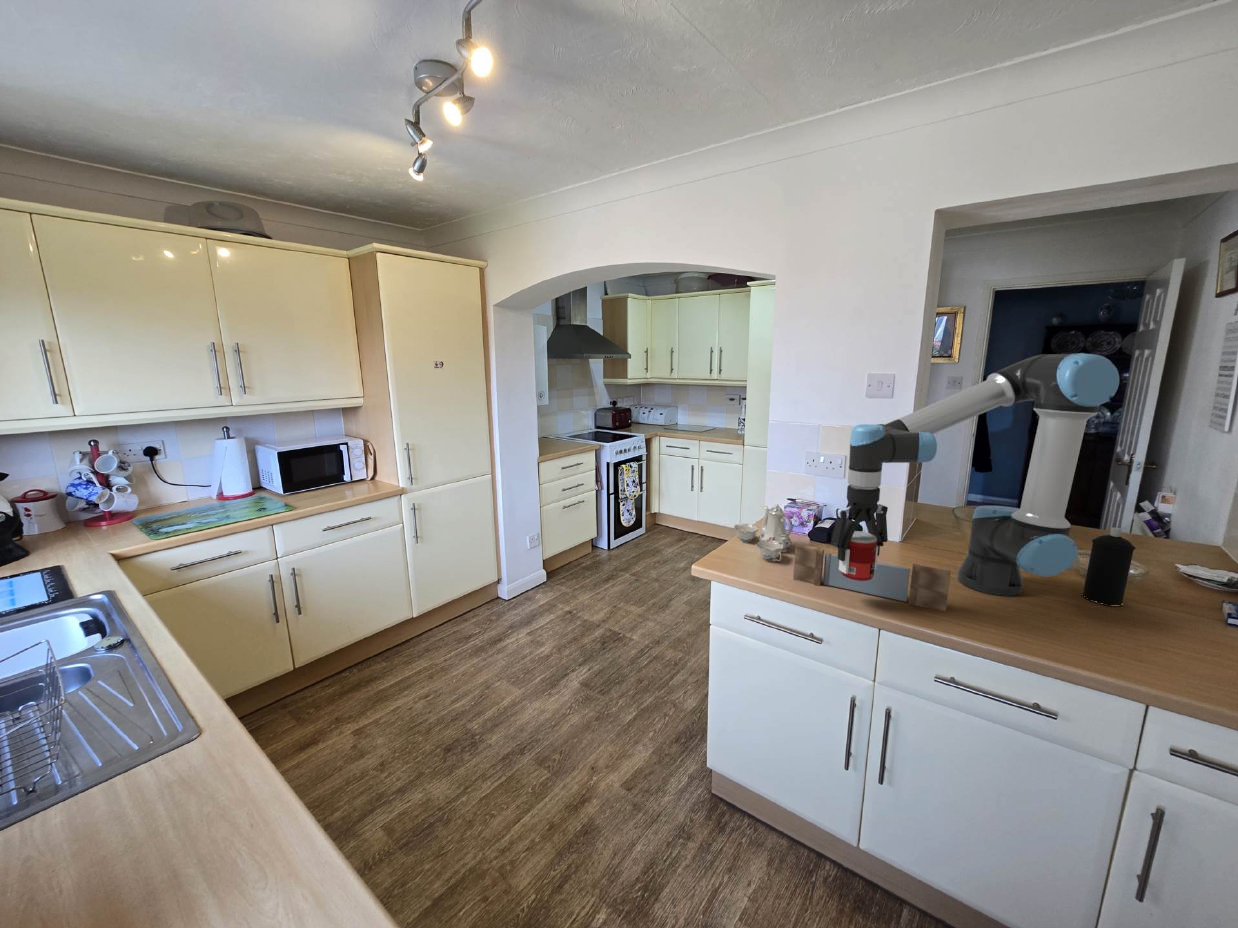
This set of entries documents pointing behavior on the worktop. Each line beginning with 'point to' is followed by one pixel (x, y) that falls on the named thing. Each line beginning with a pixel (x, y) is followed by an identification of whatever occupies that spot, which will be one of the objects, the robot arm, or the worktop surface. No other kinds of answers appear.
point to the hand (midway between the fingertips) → (857, 569)
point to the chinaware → (768, 533)
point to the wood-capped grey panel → (924, 588)
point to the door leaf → (883, 583)
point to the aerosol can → (1108, 568)
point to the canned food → (861, 556)
